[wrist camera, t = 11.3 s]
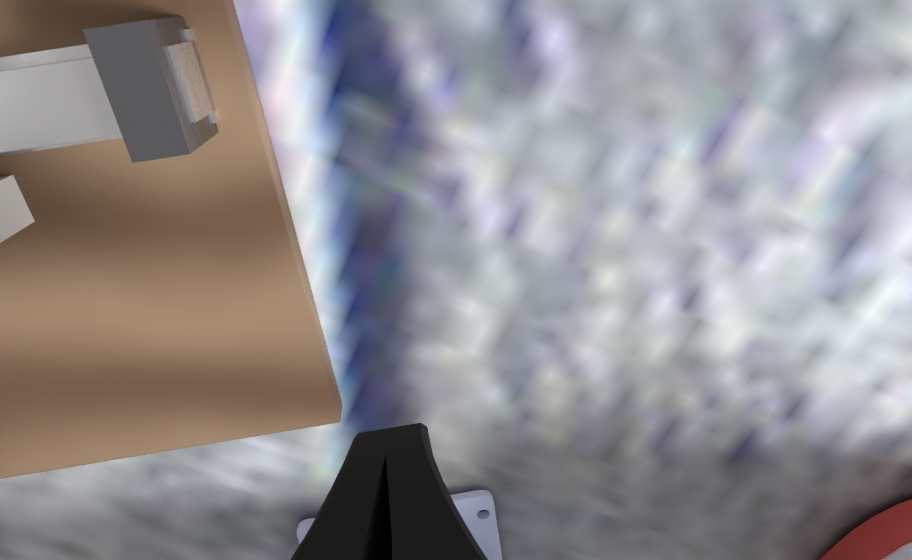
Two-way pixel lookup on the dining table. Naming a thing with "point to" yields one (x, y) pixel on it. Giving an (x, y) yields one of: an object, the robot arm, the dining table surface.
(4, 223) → the block
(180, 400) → the board
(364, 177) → the dining table surface
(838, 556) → the citrus juicer
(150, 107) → the rail
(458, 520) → the robot arm
